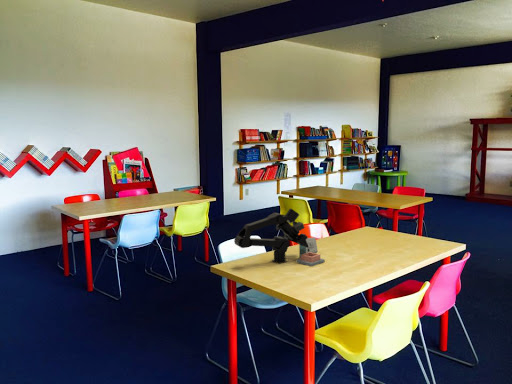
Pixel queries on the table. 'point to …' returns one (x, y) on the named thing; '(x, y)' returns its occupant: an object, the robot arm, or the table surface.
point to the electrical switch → (311, 245)
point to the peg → (301, 250)
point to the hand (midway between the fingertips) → (303, 245)
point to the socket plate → (310, 259)
